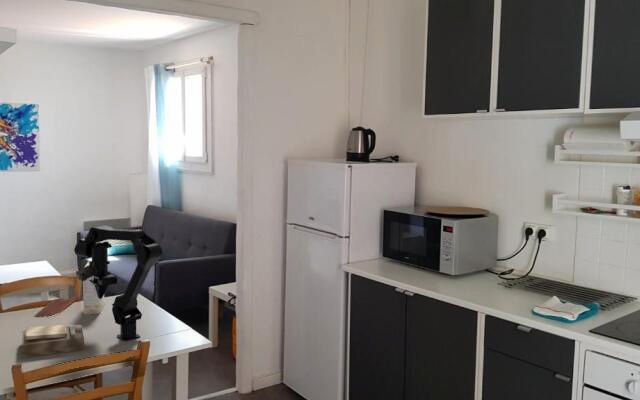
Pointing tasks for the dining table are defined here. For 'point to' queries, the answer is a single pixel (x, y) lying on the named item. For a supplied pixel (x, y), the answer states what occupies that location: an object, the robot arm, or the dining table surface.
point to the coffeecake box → (91, 298)
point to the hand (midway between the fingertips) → (100, 298)
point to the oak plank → (46, 332)
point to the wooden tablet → (55, 307)
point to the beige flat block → (54, 343)
